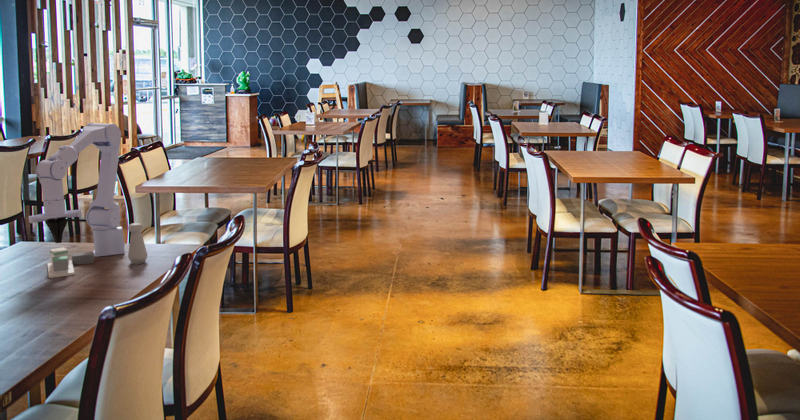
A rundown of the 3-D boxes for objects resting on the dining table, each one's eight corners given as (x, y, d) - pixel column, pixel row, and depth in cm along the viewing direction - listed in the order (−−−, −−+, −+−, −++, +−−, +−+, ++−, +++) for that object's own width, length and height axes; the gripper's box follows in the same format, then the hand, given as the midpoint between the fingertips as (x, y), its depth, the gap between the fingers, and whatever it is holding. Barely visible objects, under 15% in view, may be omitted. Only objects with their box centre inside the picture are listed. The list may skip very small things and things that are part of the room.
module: (69, 265, 210) (67, 249, 209) (55, 267, 207) (53, 252, 206) (65, 262, 213) (63, 247, 212) (51, 264, 210) (49, 249, 209)
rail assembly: (71, 262, 218) (70, 247, 217) (74, 274, 205) (73, 258, 204) (47, 265, 215) (46, 249, 214) (48, 277, 202) (47, 261, 201)
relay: (93, 260, 222) (93, 251, 221) (93, 263, 218) (92, 254, 217) (73, 261, 220) (73, 253, 219) (72, 265, 216) (71, 256, 215)
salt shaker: (150, 260, 221) (148, 222, 218) (142, 265, 215) (139, 226, 213) (133, 260, 221) (131, 221, 219) (125, 264, 216) (122, 225, 213)
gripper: (74, 194, 213) (78, 236, 216) (23, 200, 203) (28, 243, 206) (82, 197, 208) (86, 240, 211) (30, 203, 198) (35, 248, 201)
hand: (58, 242), depth 208 cm, fingers closed
